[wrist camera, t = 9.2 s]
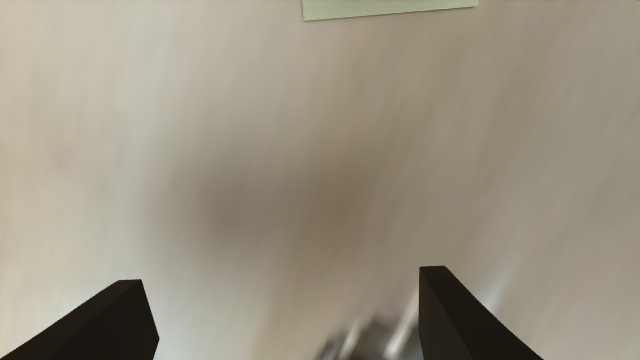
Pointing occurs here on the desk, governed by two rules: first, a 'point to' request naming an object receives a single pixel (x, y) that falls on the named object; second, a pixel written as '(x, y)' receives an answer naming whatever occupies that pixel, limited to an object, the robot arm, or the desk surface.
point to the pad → (374, 7)
